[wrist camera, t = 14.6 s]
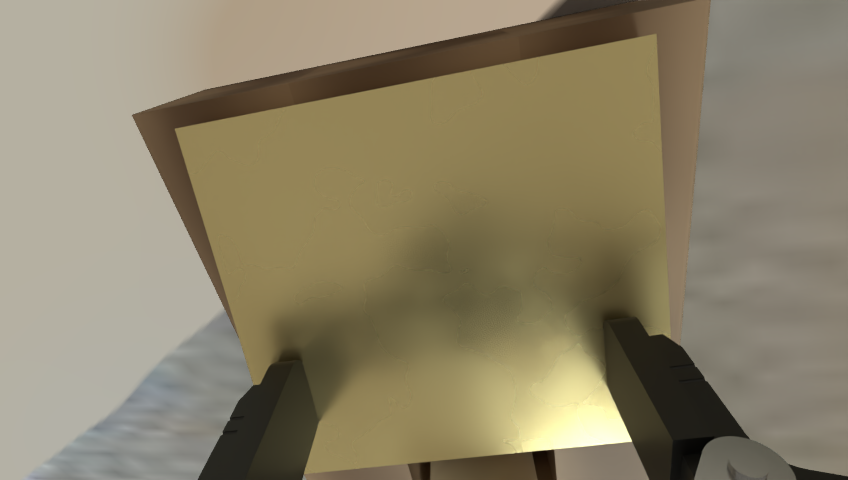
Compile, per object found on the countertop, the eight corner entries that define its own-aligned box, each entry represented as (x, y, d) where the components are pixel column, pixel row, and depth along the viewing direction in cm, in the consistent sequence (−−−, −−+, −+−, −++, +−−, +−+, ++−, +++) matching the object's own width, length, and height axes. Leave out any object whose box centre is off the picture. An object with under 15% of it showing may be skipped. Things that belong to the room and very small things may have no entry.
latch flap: (641, 40, 10) (656, 33, 9) (662, 417, 13) (675, 437, 12) (193, 128, 11) (174, 128, 11) (291, 456, 14) (281, 476, 13)
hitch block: (638, 0, 13) (710, -3, 10) (627, 472, 23) (661, 556, 20) (204, 89, 15) (131, 114, 11) (366, 496, 25) (354, 578, 21)
